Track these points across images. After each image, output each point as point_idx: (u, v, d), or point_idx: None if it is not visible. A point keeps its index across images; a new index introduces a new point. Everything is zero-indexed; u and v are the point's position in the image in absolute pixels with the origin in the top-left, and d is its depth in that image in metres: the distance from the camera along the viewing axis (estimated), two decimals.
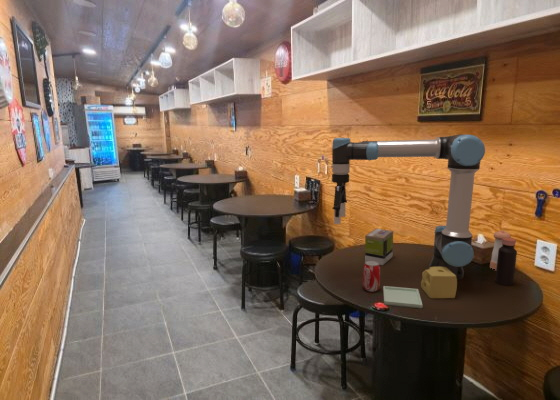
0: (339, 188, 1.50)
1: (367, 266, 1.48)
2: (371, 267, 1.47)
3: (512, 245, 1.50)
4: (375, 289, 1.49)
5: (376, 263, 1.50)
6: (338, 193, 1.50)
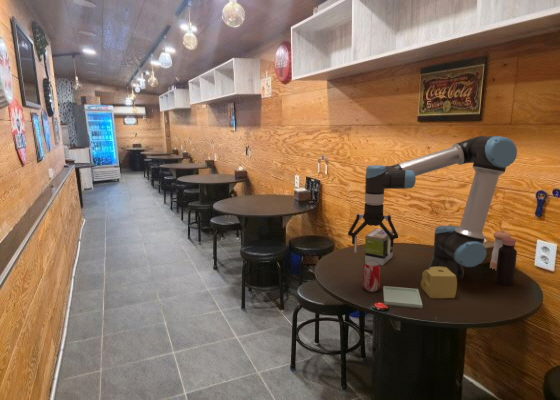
0: (356, 216, 1.47)
1: (367, 266, 1.48)
2: (371, 267, 1.47)
3: (512, 245, 1.50)
4: (375, 289, 1.49)
5: (376, 263, 1.50)
6: (355, 220, 1.48)
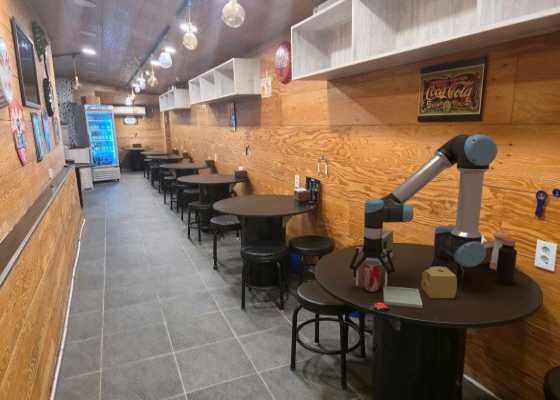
0: None
1: (367, 266, 1.48)
2: (371, 267, 1.47)
3: (512, 245, 1.50)
4: (375, 289, 1.49)
5: (376, 263, 1.50)
6: (355, 254, 1.50)
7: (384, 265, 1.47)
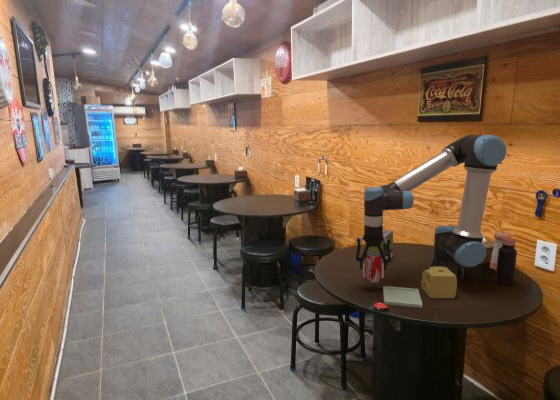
0: (357, 240, 1.49)
1: (369, 257, 1.47)
2: (373, 258, 1.46)
3: (512, 245, 1.50)
4: (377, 280, 1.48)
5: (378, 254, 1.49)
6: None
7: (382, 255, 1.47)
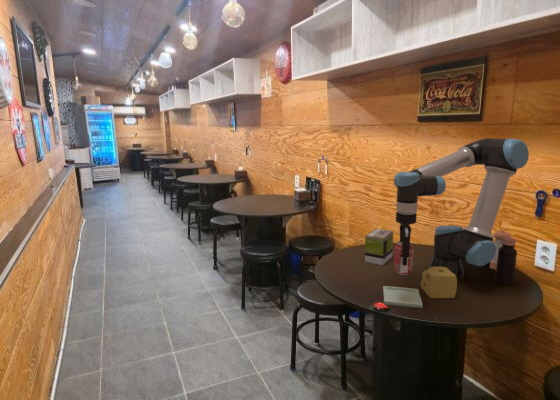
0: (408, 234, 1.31)
1: (411, 247, 1.37)
2: None
3: (512, 245, 1.50)
4: None
5: None
6: (407, 239, 1.32)
7: None
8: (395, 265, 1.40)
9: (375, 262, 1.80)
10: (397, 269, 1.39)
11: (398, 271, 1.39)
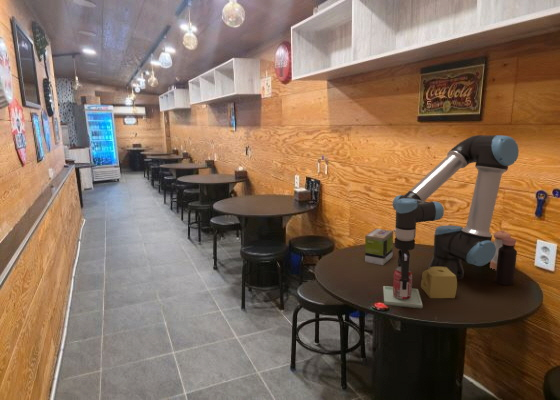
0: (407, 258, 1.33)
1: (409, 273, 1.39)
2: (411, 272, 1.40)
3: (512, 245, 1.50)
4: None
5: None
6: (406, 263, 1.33)
7: None
8: (394, 290, 1.42)
9: (375, 262, 1.80)
10: (396, 294, 1.41)
11: (397, 296, 1.41)
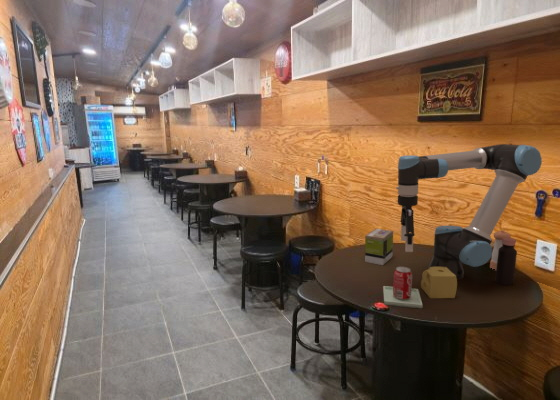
0: (411, 212, 1.35)
1: (409, 273, 1.39)
2: None
3: (512, 245, 1.50)
4: None
5: (402, 267, 1.43)
6: (411, 218, 1.35)
7: None
8: (394, 290, 1.42)
9: (375, 262, 1.80)
10: (396, 294, 1.41)
11: (397, 296, 1.41)
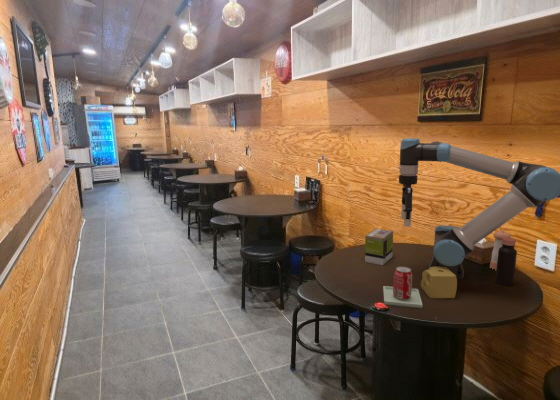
0: (410, 190, 1.47)
1: (409, 273, 1.39)
2: (411, 272, 1.40)
3: (512, 245, 1.50)
4: None
5: (402, 267, 1.43)
6: (410, 195, 1.47)
7: None
8: (394, 290, 1.42)
9: (375, 262, 1.80)
10: (396, 294, 1.41)
11: (397, 296, 1.41)
